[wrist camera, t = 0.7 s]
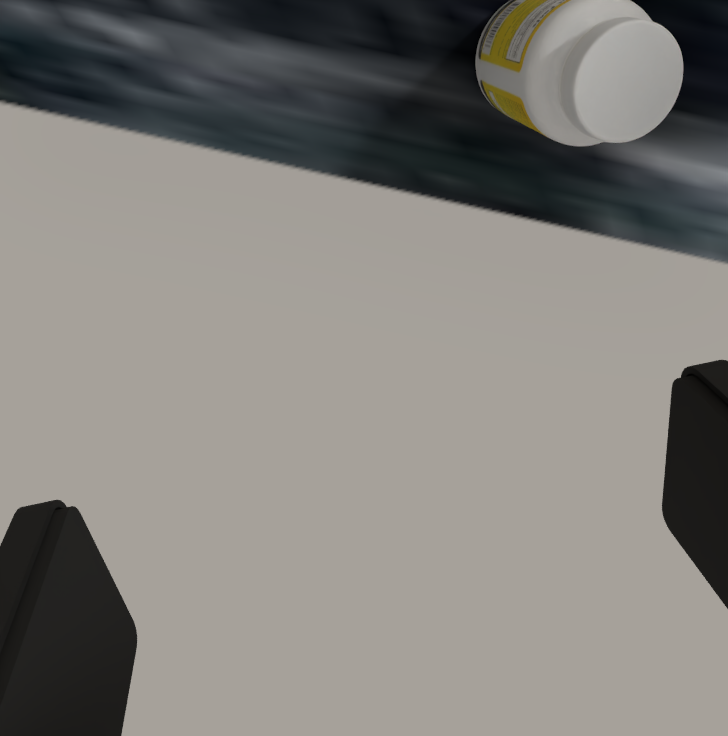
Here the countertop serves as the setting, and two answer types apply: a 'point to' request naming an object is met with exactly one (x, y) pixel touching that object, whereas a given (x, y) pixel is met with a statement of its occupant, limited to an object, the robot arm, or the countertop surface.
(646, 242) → the countertop surface
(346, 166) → the countertop surface
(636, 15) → the supplement bottle
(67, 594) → the robot arm
